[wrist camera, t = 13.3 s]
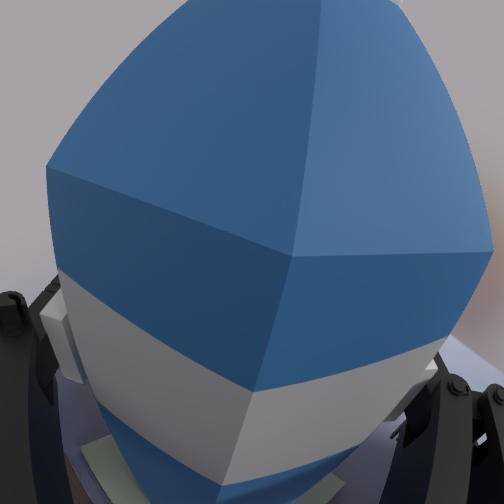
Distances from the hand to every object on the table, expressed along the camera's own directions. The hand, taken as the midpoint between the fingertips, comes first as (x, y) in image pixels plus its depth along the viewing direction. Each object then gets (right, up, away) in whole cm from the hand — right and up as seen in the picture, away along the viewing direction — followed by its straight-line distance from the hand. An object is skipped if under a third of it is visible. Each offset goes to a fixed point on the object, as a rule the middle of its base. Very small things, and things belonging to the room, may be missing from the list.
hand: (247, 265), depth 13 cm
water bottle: (-2, -14, +3) cm, 15 cm away
